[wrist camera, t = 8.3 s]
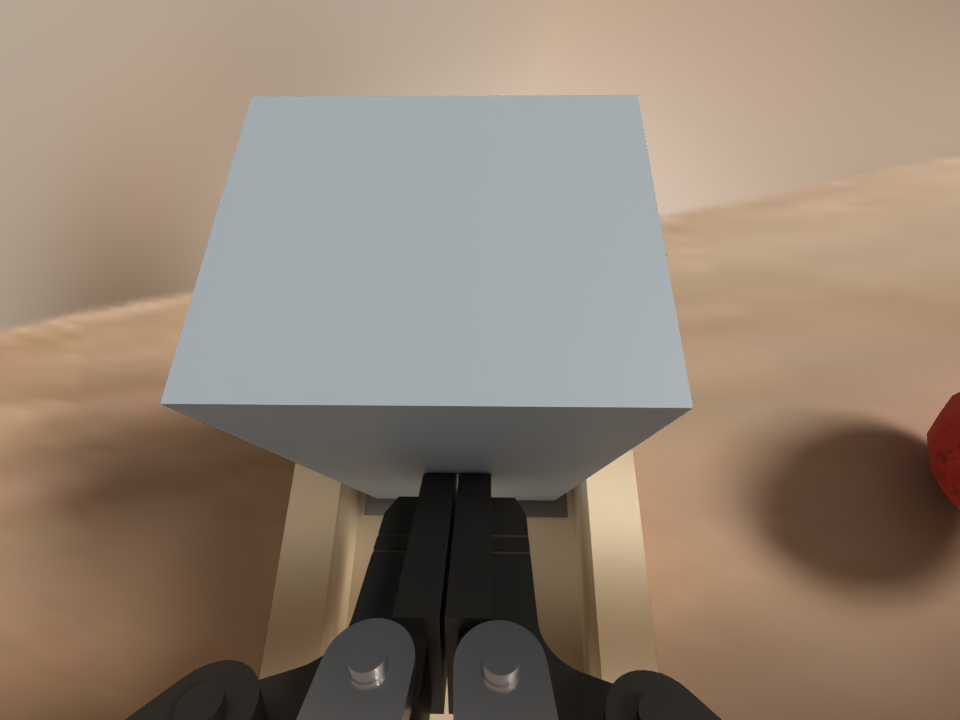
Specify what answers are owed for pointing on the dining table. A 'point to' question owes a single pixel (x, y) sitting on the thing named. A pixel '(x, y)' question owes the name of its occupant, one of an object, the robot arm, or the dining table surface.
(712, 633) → the dining table surface
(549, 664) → the robot arm
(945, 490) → the pomegranate
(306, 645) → the wooden tray frame
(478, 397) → the block
